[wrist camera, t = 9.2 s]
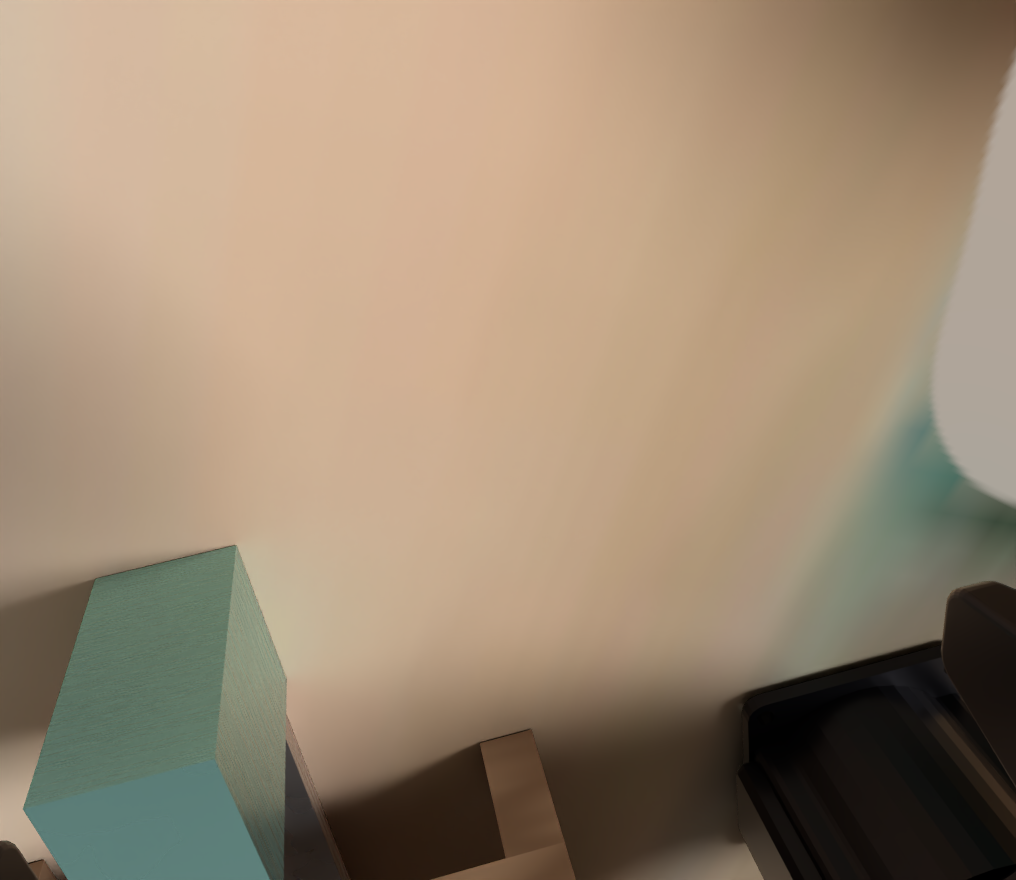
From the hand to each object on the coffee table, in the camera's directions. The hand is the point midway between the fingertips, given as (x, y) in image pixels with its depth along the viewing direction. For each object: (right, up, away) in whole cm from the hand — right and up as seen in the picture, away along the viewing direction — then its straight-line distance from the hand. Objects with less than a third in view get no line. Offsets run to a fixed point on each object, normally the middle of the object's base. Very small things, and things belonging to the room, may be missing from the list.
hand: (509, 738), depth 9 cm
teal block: (-6, -7, +15) cm, 18 cm away
